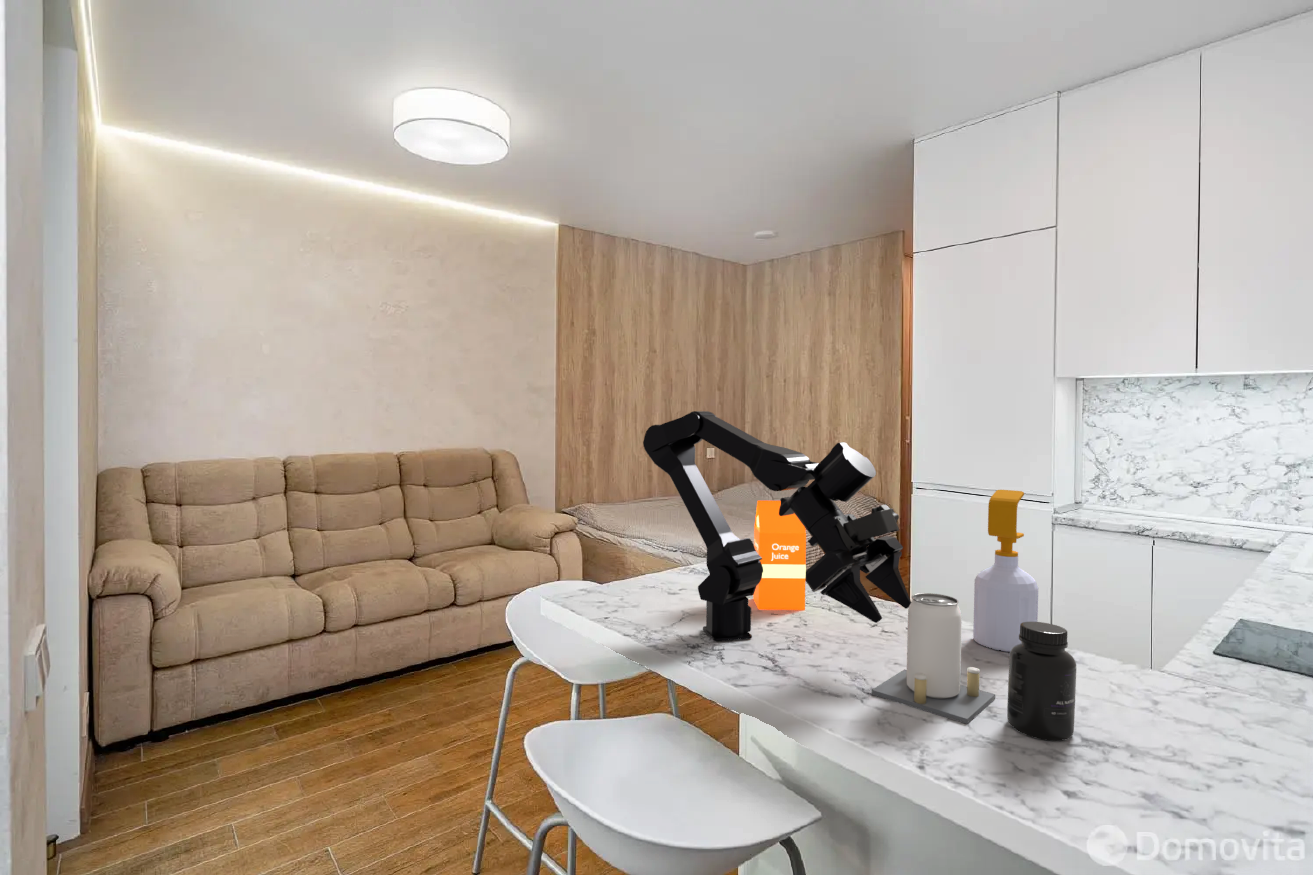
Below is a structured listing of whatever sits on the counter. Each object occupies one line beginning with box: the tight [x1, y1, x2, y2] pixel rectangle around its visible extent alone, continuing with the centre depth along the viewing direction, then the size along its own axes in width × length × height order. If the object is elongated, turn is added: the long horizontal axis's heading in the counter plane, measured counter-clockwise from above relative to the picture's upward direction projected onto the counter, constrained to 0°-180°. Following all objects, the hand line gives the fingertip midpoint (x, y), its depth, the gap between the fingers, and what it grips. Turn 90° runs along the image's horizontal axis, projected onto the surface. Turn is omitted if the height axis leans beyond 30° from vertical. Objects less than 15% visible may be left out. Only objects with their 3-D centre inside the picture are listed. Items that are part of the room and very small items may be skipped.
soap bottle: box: [972, 489, 1039, 653], centre depth 108 cm, size 9×9×25 cm
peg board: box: [871, 666, 996, 725], centre depth 88 cm, size 12×10×4 cm
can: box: [906, 592, 963, 699], centre depth 88 cm, size 6×6×12 cm
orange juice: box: [752, 500, 807, 611], centre depth 130 cm, size 8×9×20 cm
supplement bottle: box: [1006, 621, 1077, 742], centre depth 79 cm, size 7×7×12 cm
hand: (894, 613), depth 92 cm, fingers open, 9 cm apart
